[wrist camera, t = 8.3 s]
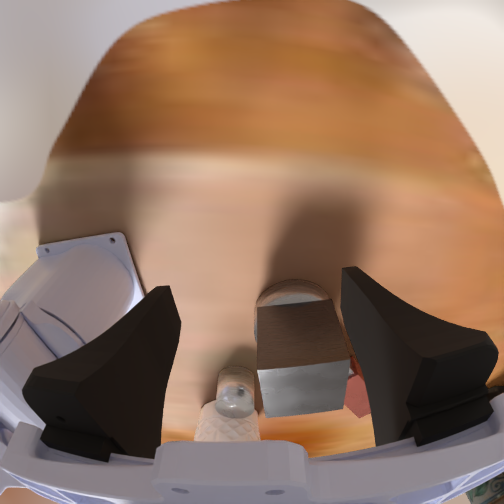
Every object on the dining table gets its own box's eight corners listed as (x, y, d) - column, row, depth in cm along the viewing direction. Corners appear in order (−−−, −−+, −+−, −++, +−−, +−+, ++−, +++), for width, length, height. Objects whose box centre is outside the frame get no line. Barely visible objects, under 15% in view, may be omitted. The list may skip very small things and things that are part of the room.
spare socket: (222, 388, 31) (219, 419, 27) (215, 366, 29) (211, 399, 25) (256, 386, 30) (256, 417, 27) (252, 364, 29) (251, 397, 25)
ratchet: (238, 306, 25) (235, 354, 20) (305, 265, 23) (317, 310, 19) (343, 406, 32) (351, 445, 28) (391, 383, 31) (404, 420, 26)
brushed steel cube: (264, 357, 25) (265, 417, 19) (256, 306, 22) (257, 370, 17) (329, 350, 24) (342, 408, 19) (331, 298, 22) (350, 359, 17)
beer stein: (415, 435, 38) (449, 562, 16) (510, 359, 31) (576, 487, 9) (450, 444, 43) (480, 542, 21) (526, 383, 35) (574, 481, 13)
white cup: (270, 400, 32) (273, 480, 23) (254, 432, 35) (253, 500, 26) (199, 389, 31) (187, 471, 22) (193, 423, 34) (183, 492, 26)
